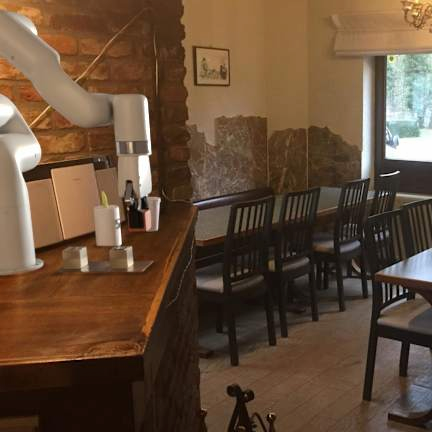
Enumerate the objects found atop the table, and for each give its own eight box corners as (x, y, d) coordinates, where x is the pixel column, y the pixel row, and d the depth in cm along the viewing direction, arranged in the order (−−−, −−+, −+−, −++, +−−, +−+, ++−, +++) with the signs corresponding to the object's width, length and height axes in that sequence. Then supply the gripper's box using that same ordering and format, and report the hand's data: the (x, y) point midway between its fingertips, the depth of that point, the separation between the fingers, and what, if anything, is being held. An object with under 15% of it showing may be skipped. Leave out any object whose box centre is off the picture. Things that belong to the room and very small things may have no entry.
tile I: (63, 269, 147) (61, 250, 146) (70, 264, 151) (69, 246, 150) (81, 268, 147) (79, 250, 146) (87, 264, 151) (86, 246, 150)
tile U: (110, 268, 148) (109, 250, 147) (116, 263, 152) (115, 245, 151) (127, 268, 148) (126, 250, 147) (133, 263, 152) (132, 245, 151)
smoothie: (140, 228, 192) (137, 183, 189) (162, 227, 194) (160, 182, 191) (139, 233, 186) (136, 186, 183) (162, 231, 188) (159, 185, 185)
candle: (113, 248, 168) (109, 193, 165) (91, 247, 169) (86, 192, 166) (126, 242, 174) (122, 189, 171) (105, 241, 175) (100, 188, 172)
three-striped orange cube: (128, 231, 146) (127, 212, 145) (134, 227, 150) (132, 209, 149) (146, 231, 146) (145, 212, 146) (151, 227, 150) (150, 208, 149)
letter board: (55, 274, 145) (55, 272, 145) (72, 263, 153) (71, 261, 153) (142, 273, 146) (142, 271, 146) (153, 263, 155) (153, 260, 155)
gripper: (129, 145, 152) (135, 218, 156) (103, 152, 136) (111, 234, 140) (160, 145, 153) (165, 218, 157) (138, 152, 136) (145, 234, 140)
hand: (139, 225), depth 148 cm, fingers closed on three-striped orange cube, 4 cm apart
